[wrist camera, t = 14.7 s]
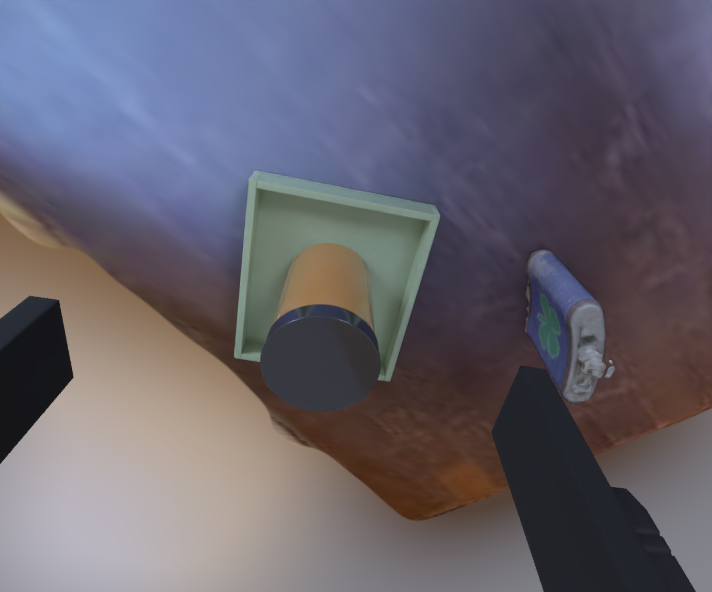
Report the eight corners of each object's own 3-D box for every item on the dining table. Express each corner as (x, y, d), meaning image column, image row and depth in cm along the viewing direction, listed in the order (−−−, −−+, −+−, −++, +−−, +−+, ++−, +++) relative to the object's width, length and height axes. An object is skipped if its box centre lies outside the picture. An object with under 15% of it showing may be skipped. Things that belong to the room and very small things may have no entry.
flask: (525, 250, 37) (583, 320, 28) (561, 244, 37) (631, 313, 28) (523, 339, 42) (572, 425, 33) (555, 335, 42) (613, 420, 32)
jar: (382, 249, 37) (393, 327, 27) (363, 325, 40) (366, 419, 30) (290, 232, 36) (266, 306, 26) (279, 312, 40) (254, 403, 30)
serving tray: (435, 205, 35) (441, 215, 33) (388, 364, 43) (390, 382, 41) (255, 169, 34) (248, 178, 32) (240, 341, 42) (233, 358, 40)
